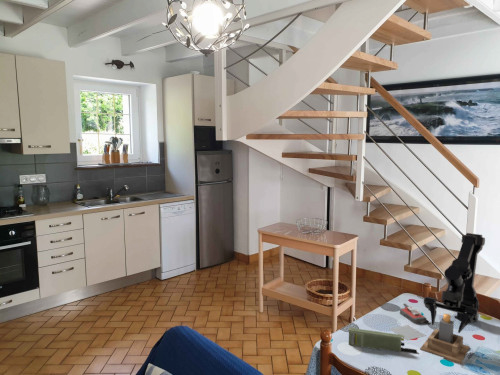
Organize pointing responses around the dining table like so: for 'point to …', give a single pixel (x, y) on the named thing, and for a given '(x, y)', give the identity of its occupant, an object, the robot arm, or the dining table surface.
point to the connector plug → (446, 329)
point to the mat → (407, 332)
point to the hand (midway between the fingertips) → (445, 328)
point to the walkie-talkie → (413, 315)
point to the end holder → (446, 347)
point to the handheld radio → (377, 340)
